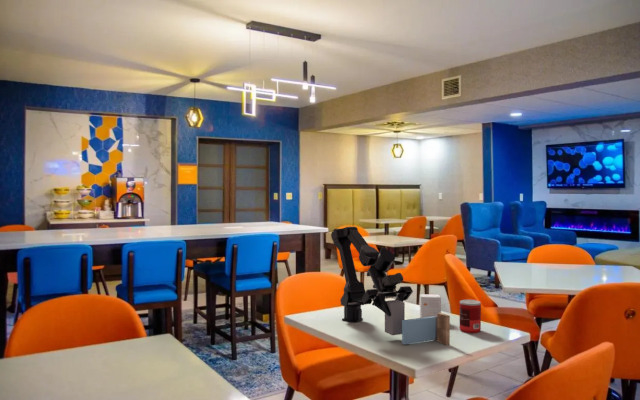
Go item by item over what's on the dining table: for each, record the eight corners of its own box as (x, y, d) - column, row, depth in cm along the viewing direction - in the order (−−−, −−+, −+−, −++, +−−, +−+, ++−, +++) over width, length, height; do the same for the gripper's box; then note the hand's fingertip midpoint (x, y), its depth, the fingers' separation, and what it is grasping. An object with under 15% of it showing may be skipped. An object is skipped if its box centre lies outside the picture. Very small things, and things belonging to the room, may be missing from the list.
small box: (439, 319, 204) (439, 294, 204) (441, 323, 198) (441, 297, 198) (419, 319, 205) (419, 293, 205) (420, 322, 199) (421, 296, 199)
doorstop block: (384, 331, 176) (384, 300, 176) (396, 330, 178) (396, 299, 178) (392, 335, 171) (392, 303, 171) (404, 333, 174) (404, 302, 173)
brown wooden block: (437, 341, 173) (437, 313, 173) (440, 341, 174) (440, 312, 173) (446, 345, 169) (446, 316, 168) (449, 344, 169) (449, 315, 169)
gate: (436, 339, 176) (436, 315, 175) (439, 340, 174) (439, 316, 174) (401, 344, 169) (402, 320, 169) (404, 345, 168) (404, 321, 168)
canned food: (481, 329, 189) (482, 300, 189) (479, 334, 182) (479, 304, 182) (461, 326, 193) (461, 298, 193) (457, 332, 185) (458, 302, 185)
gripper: (366, 266, 174) (382, 304, 164) (410, 264, 182) (428, 299, 172) (355, 285, 182) (370, 322, 172) (397, 282, 189) (415, 317, 179)
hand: (396, 315), depth 173 cm, fingers closed on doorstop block, 5 cm apart
